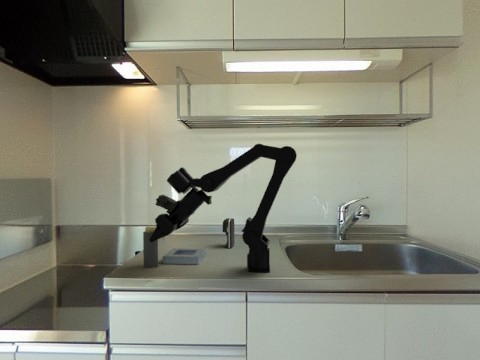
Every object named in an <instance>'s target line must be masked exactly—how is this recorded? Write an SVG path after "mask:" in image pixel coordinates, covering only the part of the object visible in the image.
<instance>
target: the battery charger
mask: <svg viewBox="0 0 480 360" xmlns="http://www.w3.org/2000/svg"><path fill="white" fill-rule="evenodd" d="M222 233H225V235H226V244H224V245H223V246H224V248H225V249H231V248H233V247H234V245H235V218H233V217H230V218H225V219H224V220H223V221H222Z"/></svg>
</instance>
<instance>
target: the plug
mask: <svg viewBox="0 0 480 360" xmlns="http://www.w3.org/2000/svg"><path fill="white" fill-rule="evenodd" d="M155 229H156V226H146V227H145V229H144V231H143V233H142V235H143V239H142V240H143V243H142V245H143V268H145V269H151V268H152V269H153V268H157V267H159V239H158V240H155V241H153V242H150V241H149V239H150V237H151V235H152V234H153V232H154V230H155Z"/></svg>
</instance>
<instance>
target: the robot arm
mask: <svg viewBox="0 0 480 360" xmlns="http://www.w3.org/2000/svg"><path fill="white" fill-rule="evenodd" d="M261 158H265V159H269V160H273V161H275V162H274V167H273V171H272V175H271V177H270V179H269V182H268V184H267V186H266V189H265V190H264V194H263V196H262V197H261V200H260V203H259V205H258V207H257V209H256V212H255V214H254V216H252V217H251V216H248V217H247V218H246V221H245V225H244V227H243V228H242V230H241V233H242V235H241V237H242V238H241V239H242V241H243V243H244V244H245V245H247V246H248V248H249V249H248V252H247V255H246V257H247V258H246V267H247V269H248V270H247V272H251V273H253V272H255V273H258V272H259V273H265V272H266V273H270V272H271V265H270V263H271V261H270V260H271V257H270V256H271V254H270V253H271V251H270V248H268V247H269V245H270V242H271V240H270V239H269V238H268V237H267V236H266V235H265V234H264V231H265V228H266V222H267V218H268V216H269V213H270V210H272V206H273V204H274V202H275V200H276V197H277V195H278V193H279V190H280V188H281V186H282V184H283V181H284V179H285V177H286V175H287V174H288V173H289V171H290V170H291V168H292V166H293V165H294V164H295V162H296V160H297V158H298V157H297V152H296V150H295V149H294V148H293V147H292V146H289V145H287V146H282V147H277V146H271V145H266V144H265V145H264V144H262V143H256V144H255V145H253V147H252V148H250V149H248V150H247V151H245V152H244V153H242V154H241V155H239V156H238V157H236V158H235V159H233V160H232V161H230V162H229V163H227V164H226V165H224V166H222V167H220V168H217V169H214V170H212V171H209V172H208V173H205V174H203V175H202V176H200V178H199V177H196V178H194V177H193V176H192V175H191V174H190V173H188V171H187V169H186V168H184V167H182V166H181V167H180V168H179V169H178V170H176V171H174V172H173V173H171V174H170V175H169V176H168V178H167V179H166V182H167V183H168V184H169V185H170V186H171V188H173V189H174V191H176V192H177V193H178V195H179V194H183V195H184V196H183V197H182V198H181V199H179V200H175V199H174V198H171V197H169V196H167V195H165V194H159V195H158V197H157V198H156V199H155V200H156V202H155V205H156V206H157V207H161V208H163V209H164V210H166V211H165V212H166V213H161V214H158V215H157V216H156V218H154V219H155V227H156V229H155V230H154V232H153V234H152V235H151V237H150V239H149V241H150V242H153V241H155V240H158V241H159V240H160V239H162V238H164V237H166V236H170V235H171V234H172V233H174V232H175V231H177V230H179V229H181V228H183V227H184V226H185V227H186V225H187V224H188V223H189V220H190V219H189V218H190V217H191V216H192V215H193V214H195V212H196V211H197V210H198V209H199V208H200V207H201V206H202V205H203V204H204V203H206V205H208V206H209V205H211V204H212V203H213V202H212V197H213V195H208V194H207V193H213V192H216V191H218V190H219V189H221V187H222V186H224V184H225V183H226V182H228V180H229V179H230V178H231V177H233V176H235V175H236V174H237V173H239V172H240V171H242V170H243V169H245V168H247V167H248V166H250V165H251V164H253V163H254V162H255V161H257V160H259V159H261ZM198 188H200V190H199V189H198Z"/></svg>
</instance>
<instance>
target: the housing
mask: <svg viewBox="0 0 480 360" xmlns="http://www.w3.org/2000/svg"><path fill="white" fill-rule="evenodd" d="M206 257H207V248H182V247H181V248H178V247H174V248H172V249H170V250H169V251H168V252H167V253H165V254H163V255H162V264H163V265H164V264H165V265H166V264H167V265H197V266H198V265H200V263H201V262H202V261H203V260H204V259H205V258H206Z"/></svg>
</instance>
